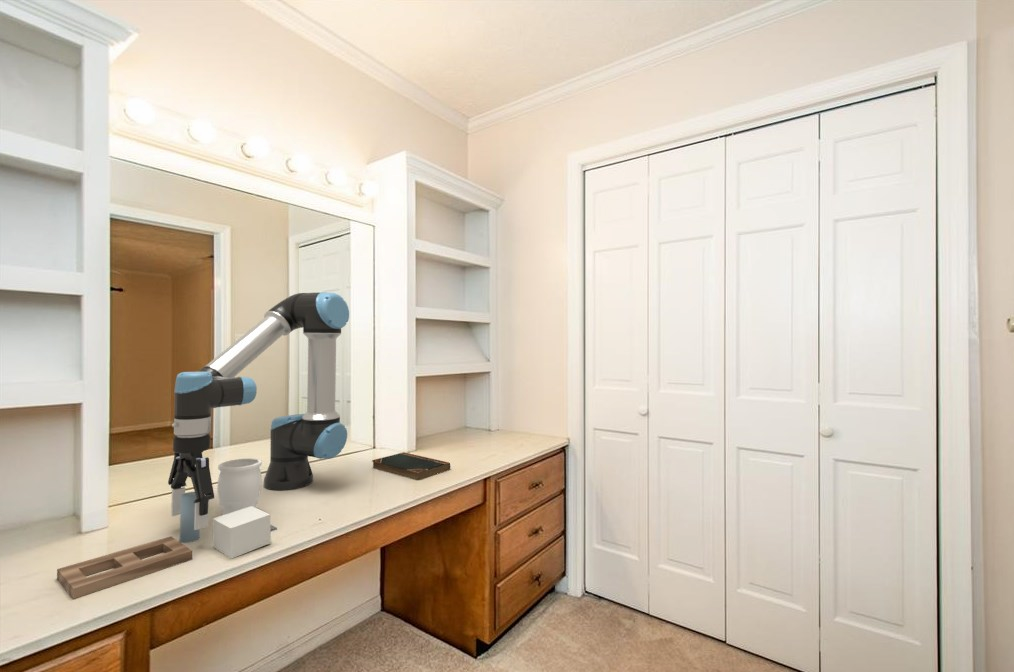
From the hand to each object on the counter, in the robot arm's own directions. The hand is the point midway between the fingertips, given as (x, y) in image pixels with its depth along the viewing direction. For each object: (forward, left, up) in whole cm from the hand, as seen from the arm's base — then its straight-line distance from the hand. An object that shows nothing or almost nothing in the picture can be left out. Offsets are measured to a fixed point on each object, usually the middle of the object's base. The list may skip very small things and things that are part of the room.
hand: (189, 521), depth 115 cm
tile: (+8, +13, -5) cm, 16 cm away
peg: (0, 0, -5) cm, 5 cm away
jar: (-5, +14, -5) cm, 16 cm away
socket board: (+6, -14, -5) cm, 16 cm away
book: (-3, +76, -5) cm, 76 cm away
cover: (+14, +6, -4) cm, 16 cm away
